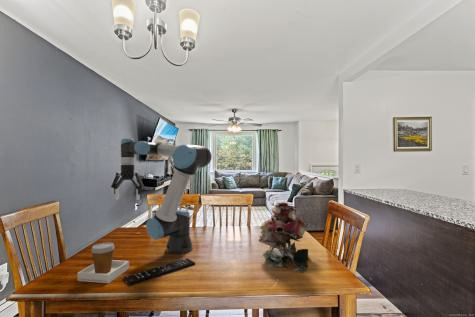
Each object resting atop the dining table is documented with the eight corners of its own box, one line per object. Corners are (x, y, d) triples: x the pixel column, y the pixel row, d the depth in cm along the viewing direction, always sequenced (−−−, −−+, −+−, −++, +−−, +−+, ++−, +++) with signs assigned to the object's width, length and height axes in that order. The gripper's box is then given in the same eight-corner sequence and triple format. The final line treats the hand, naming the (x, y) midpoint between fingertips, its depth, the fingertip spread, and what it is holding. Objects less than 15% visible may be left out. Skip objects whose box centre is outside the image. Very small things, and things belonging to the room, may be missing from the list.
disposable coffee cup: (119, 269, 117) (119, 243, 117) (102, 277, 108) (102, 250, 108) (104, 266, 120) (104, 241, 121) (86, 274, 111) (86, 247, 112)
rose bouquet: (307, 251, 142) (307, 199, 142) (309, 274, 113) (309, 208, 114) (262, 248, 148) (262, 197, 148) (254, 268, 119) (254, 206, 120)
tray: (129, 268, 120) (129, 261, 120) (108, 283, 105) (108, 274, 106) (101, 266, 122) (101, 259, 122) (77, 280, 108) (77, 272, 108)
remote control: (122, 280, 109) (123, 276, 109) (187, 261, 130) (187, 257, 130) (129, 287, 103) (129, 282, 103) (195, 265, 124) (195, 261, 124)
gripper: (150, 164, 152) (150, 199, 151) (112, 164, 155) (112, 198, 155) (143, 164, 144) (143, 201, 144) (104, 164, 148) (104, 200, 148)
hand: (127, 199), depth 150 cm, fingers open, 13 cm apart
